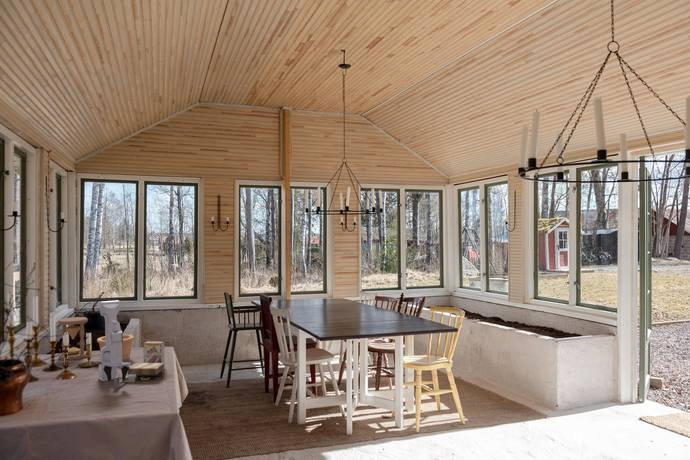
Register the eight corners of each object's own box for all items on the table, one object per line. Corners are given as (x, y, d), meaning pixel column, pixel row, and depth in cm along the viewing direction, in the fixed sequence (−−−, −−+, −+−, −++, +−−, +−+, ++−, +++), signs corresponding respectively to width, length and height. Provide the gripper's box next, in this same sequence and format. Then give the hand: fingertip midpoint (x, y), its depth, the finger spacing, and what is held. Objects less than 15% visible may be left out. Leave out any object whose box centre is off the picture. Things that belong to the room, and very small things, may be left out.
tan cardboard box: (127, 380, 309) (127, 368, 309) (136, 375, 321) (136, 362, 321) (156, 380, 308) (156, 368, 308) (164, 375, 320) (164, 362, 320)
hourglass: (52, 358, 363) (51, 320, 363) (74, 353, 379) (74, 316, 379) (72, 361, 356) (71, 322, 356) (94, 355, 372) (93, 317, 372)
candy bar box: (143, 370, 331) (143, 342, 331) (147, 368, 336) (146, 341, 336) (161, 370, 330) (161, 343, 330) (165, 368, 335) (164, 341, 335)
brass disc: (142, 380, 310) (142, 379, 310) (139, 379, 314) (139, 377, 314) (151, 379, 313) (151, 377, 313) (148, 377, 317) (148, 375, 317)
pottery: (97, 358, 364) (96, 336, 363) (133, 354, 373) (132, 333, 373) (97, 365, 344) (97, 342, 344) (135, 361, 353) (135, 339, 353)
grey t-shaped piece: (108, 389, 293) (107, 377, 293) (120, 381, 308) (120, 370, 308) (123, 389, 293) (122, 377, 293) (135, 381, 308) (135, 370, 308)
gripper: (99, 356, 291) (99, 382, 291) (126, 356, 290) (126, 382, 290) (105, 353, 298) (105, 378, 298) (132, 353, 297) (132, 378, 297)
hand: (116, 380), depth 294 cm, fingers open, 7 cm apart
